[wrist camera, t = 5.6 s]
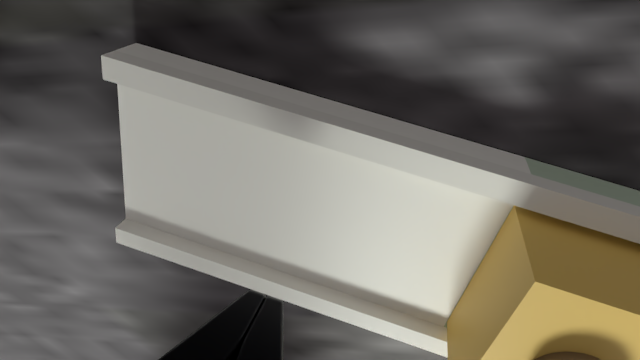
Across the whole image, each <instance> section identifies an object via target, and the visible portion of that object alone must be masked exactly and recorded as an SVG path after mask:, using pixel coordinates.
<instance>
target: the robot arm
mask: <svg viewBox="0 0 640 360" xmlns="http://www.w3.org/2000/svg"><path fill="white" fill-rule="evenodd" d="M159 360H283V301H282V300H279V299H276V298H274V297H271V296H267V297H266V296H265V295H264V294H262V293H259V292H257V291H254V290H249V291H247V292H246V293H244V294H243V295H242V296H241V297H239V298H238V299H237V300H235V301H234V302H233V303H231V304H230V305H229V306H228V307H226V308H225V309H224V310H222V311H221V312H220V313H218V314H217V315H216V316H215V317H213V318H212V319H211V320H209V321H208V322H207V323H205V324H204V325H203V326H201V327H200V328H199V329H198V330H196V331H195V332H194V333H192V334H191V335H190V336H188V337H187V338H186V339H185V340H183V341H182V342H181V343H179V344H178V345H177V346H175V347H174V348H173V349H172V350H170V351H169V352H168V353H166V354H165V355H164V356H162V357H161V358H160V359H159Z"/></svg>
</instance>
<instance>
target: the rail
mask: <svg viewBox="0 0 640 360" xmlns="http://www.w3.org/2000/svg"><path fill="white" fill-rule="evenodd" d="M101 63H102V75H103V80H106V81H110V82H113V83H116V84H117V88H118V104H119V120H120V135H121V151H122V166H123V182H124V198H125V213H126V219H125V220H124V221H122V222H121V223H120V224H119V225H118V226H117V227H116V228H115V231H116V242H117V243H119V244H122V245H125V246H128V247H131V248H134V249H137V250H140V251H142V252H145V253H148V254H151V255H154V256H157V257H160V258H163V259H166V260H168V261H171V262H174V263H177V264H180V265H183V266H186V267H189V268H191V269H194V270H197V271H200V272H203V273H206V274H209V275H212V276H214V277H217V278H220V279H223V280H226V281H229V282H232V283H235V284H237V285H240V286H243V287H246V288H249V289H252V290H255V291H258V292H260V293H263V294H266V295H269V296H272V297H275V298H278V299H281V300H283V301H286V302H289V303H292V304H295V305H298V306H301V307H304V308H306V309H309V310H312V311H315V312H318V313H321V314H324V315H327V316H329V317H332V318H335V319H338V320H341V321H344V322H347V323H350V324H352V325H355V326H358V327H361V328H364V329H367V330H370V331H373V332H375V333H378V334H381V335H384V336H387V337H390V338H393V339H396V340H399V341H401V342H404V343H407V344H410V345H413V346H416V347H419V348H422V349H424V350H427V351H430V352H433V353H436V354H439V355H442V356H445V357H447V358H448V351H447V321H448V319H449V317H450V315H451V314H452V312H453V310H454V308H455V307H456V305H457V303H458V302H459V300H460V298H461V296H462V295H463V293H464V291H465V289H466V288H467V286H468V284H469V282H470V281H471V279H472V277H473V276H474V274H475V272H476V270H477V269H478V267H479V265H480V263H481V262H482V260H483V258H484V256H485V255H486V253H487V251H488V250H489V248H490V246H491V244H492V243H493V241H494V239H495V237H496V236H497V234H498V232H499V230H500V229H501V227H502V225H503V223H504V222H505V220H506V218H507V217H508V215H509V213H510V211H511V210H512V208H513V206H514V205H515V206H518V207H521V208H524V209H528V210H531V211H534V212H537V213H541V214H544V215H547V216H551V217H554V218H557V219H560V220H564V221H567V222H570V223H573V224H577V225H580V226H583V227H586V228H590V229H593V230H596V231H600V232H603V233H606V234H609V235H613V236H616V237H619V238H622V239H626V240H629V241H632V242H635V243H639V244H640V191H638V190H635V189H632V188H628V187H625V186H621V185H618V184H615V183H611V182H608V181H604V180H601V179H598V178H594V177H591V176H587V175H584V174H581V173H577V172H574V171H570V170H567V169H564V168H560V167H557V166H553V165H550V164H547V163H543V162H540V161H536V160H533V159H530V158H526V157H523V156H519V155H516V154H512V153H509V152H506V151H502V150H499V149H495V148H492V147H489V146H485V145H482V144H478V143H475V142H472V141H468V140H465V139H461V138H458V137H455V136H451V135H448V134H444V133H441V132H438V131H434V130H431V129H427V128H424V127H421V126H417V125H414V124H410V123H407V122H404V121H400V120H397V119H393V118H390V117H387V116H383V115H380V114H376V113H373V112H370V111H366V110H363V109H359V108H356V107H353V106H349V105H346V104H342V103H339V102H336V101H332V100H329V99H325V98H322V97H319V96H315V95H312V94H308V93H305V92H302V91H298V90H295V89H291V88H288V87H285V86H281V85H278V84H274V83H271V82H268V81H264V80H261V79H257V78H254V77H251V76H247V75H244V74H240V73H237V72H234V71H230V70H227V69H223V68H220V67H217V66H213V65H210V64H206V63H203V62H200V61H196V60H193V59H189V58H186V57H183V56H179V55H176V54H172V53H169V52H166V51H162V50H159V49H155V48H152V47H149V46H145V45H142V44H138V43H134V44H132V45H129V46H126V47H123V48H120V49H117V50H115V51H112V52H109V53H106V54H103V55H101Z"/></svg>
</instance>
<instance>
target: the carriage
mask: <svg viewBox="0 0 640 360" xmlns="http://www.w3.org/2000/svg"><path fill="white" fill-rule="evenodd" d="M447 351H448V360H640V244H639V243H635V242H632V241H629V240H626V239H622V238H619V237H616V236H613V235H609V234H606V233H603V232H600V231H596V230H593V229H590V228H586V227H583V226H580V225H577V224H573V223H570V222H567V221H564V220H560V219H557V218H554V217H551V216H547V215H544V214H541V213H537V212H534V211H531V210H528V209H524V208H521V207H518V206H515V205H514V206H513V208H512V210H511V211H510V213H509V215H508V217H507V218H506V220H505V222H504V223H503V225H502V227H501V229H500V230H499V232H498V234H497V236H496V237H495V239H494V241H493V243H492V244H491V246H490V248H489V250H488V251H487V253H486V255H485V256H484V258H483V260H482V262H481V263H480V265H479V267H478V269H477V270H476V272H475V274H474V276H473V277H472V279H471V281H470V282H469V284H468V286H467V288H466V289H465V291H464V293H463V295H462V296H461V298H460V300H459V302H458V303H457V305H456V307H455V308H454V310H453V312H452V314H451V315H450V317H449V319H448V321H447Z"/></svg>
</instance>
